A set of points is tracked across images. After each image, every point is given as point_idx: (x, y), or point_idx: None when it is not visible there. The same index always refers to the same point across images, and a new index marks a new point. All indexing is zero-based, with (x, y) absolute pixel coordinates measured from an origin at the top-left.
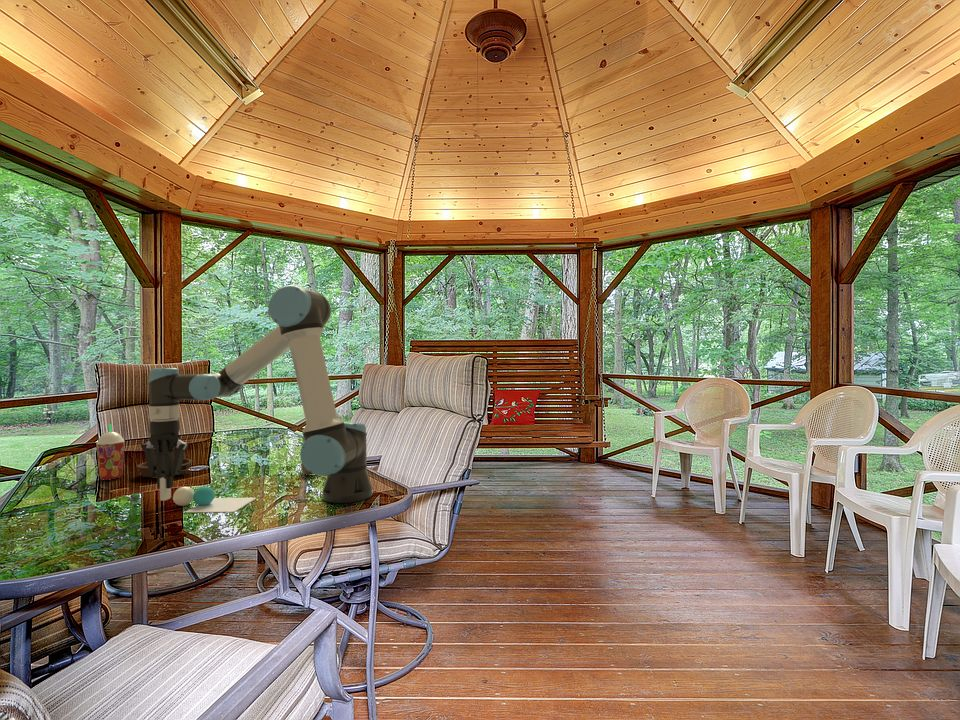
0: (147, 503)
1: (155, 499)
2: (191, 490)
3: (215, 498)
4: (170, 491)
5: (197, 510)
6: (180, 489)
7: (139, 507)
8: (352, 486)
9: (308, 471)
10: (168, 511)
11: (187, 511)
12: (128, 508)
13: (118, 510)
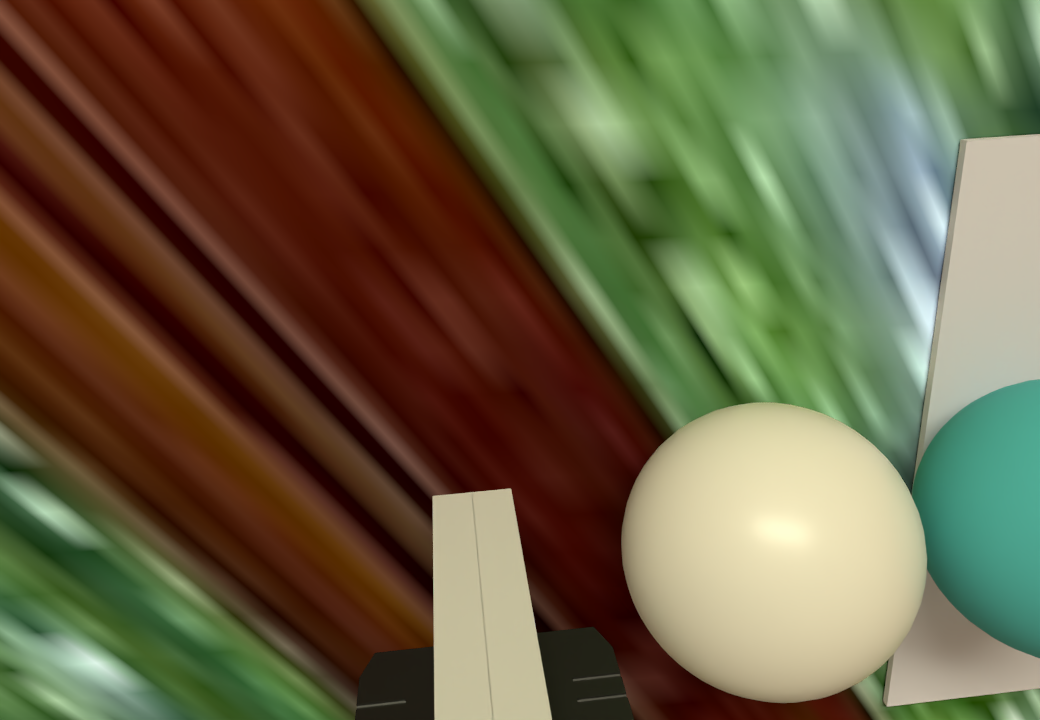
0: (108, 427)
1: (30, 218)
2: (923, 581)
3: (1030, 168)
4: (520, 553)
5: (1000, 653)
6: (803, 694)
7: (169, 592)
8: None
9: None
10: (671, 682)
11: (907, 692)
12: (56, 638)
13: (6, 712)
